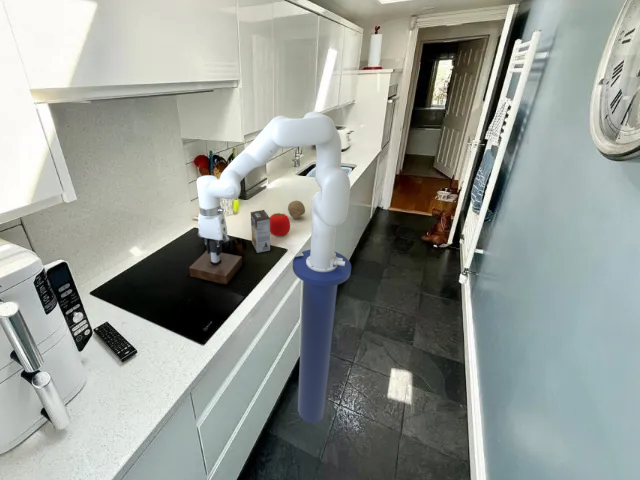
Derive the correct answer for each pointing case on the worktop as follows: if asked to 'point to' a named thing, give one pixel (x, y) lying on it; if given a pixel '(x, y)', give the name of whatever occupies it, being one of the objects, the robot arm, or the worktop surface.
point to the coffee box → (260, 230)
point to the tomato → (279, 224)
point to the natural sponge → (296, 209)
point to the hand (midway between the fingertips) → (214, 252)
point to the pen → (213, 251)
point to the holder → (216, 268)
